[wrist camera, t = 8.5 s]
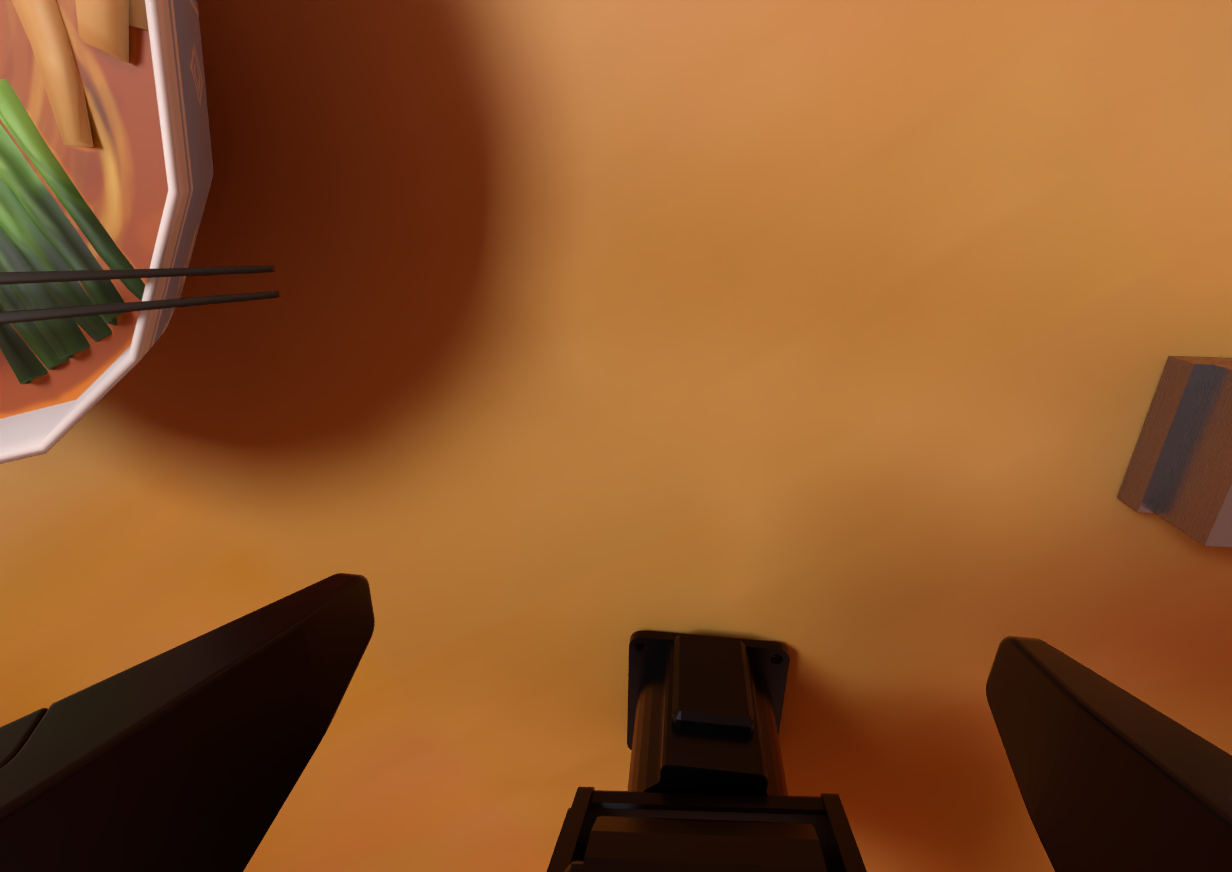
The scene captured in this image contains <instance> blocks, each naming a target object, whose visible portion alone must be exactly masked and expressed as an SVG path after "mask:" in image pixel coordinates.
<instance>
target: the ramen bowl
mask: <svg viewBox="0 0 1232 872" xmlns="http://www.w3.org/2000/svg"><path fill="white" fill-rule="evenodd" d="M213 175H214V170H213V160H212V149H211V139H210V128H209V118H208V107H207V96H206V86H205V75H204V65H203V54H202V44H201V33H200V23H199V12H198V3H197V1H196V0H0V464H1V463H6V462H10V461H14V460H19V459H23V458H27V457H32V456H36V455H40V454H44V453H47V452H48V451H49V450H50V449H51V448H52V447H53V446H54V445H55V444H56V443H57V442H58V441H59V440H60V439H61V438H62V437H63V436H64V435H65V434H66V433H67V432H68V431H69V430H70V429H71V428H72V427H73V426H74V425H75V424H76V423H77V422H78V421H79V420H80V419H81V418H82V417H83V416H84V415H85V414H86V413H87V412H88V411H89V410H90V409H92V408H93V407H94V406H95V405H96V404H97V403H98V402H99V401H100V400H101V399H102V398H103V397H104V396H105V395H106V394H107V393H108V392H109V391H110V390H111V389H112V388H113V387H114V386H115V385H116V384H117V383H118V382H119V381H120V380H121V379H122V378H123V377H124V376H125V375H126V374H127V373H128V372H129V371H130V370H131V369H132V368H133V367H134V366H135V365H136V364H137V363H138V362H139V361H140V360H141V359H142V358H143V357H144V355H145V354H146V353H147V352H148V351H149V350H150V348H151V347H152V346H153V345H154V344H155V343H156V341H157V340H158V339H159V338H160V337H161V335H162V334H163V333H164V332H165V331H166V329H167V327H168V325H169V322H170V320H171V318H172V316H173V313H174V311H175V309H176V307H186V306H196V305H206V304H217V303H227V302H237V301H248V300H258V299H268V298H277V297H280V295H279V291H275V292H261V293H248V294H234V295H221V296H207V297H194V298H180V297H181V294H182V290H183V286H184V283H185V279H186V276H199V275H220V274H242V273H264V272H275V271H274V267H273V266H240V267H198V268H189V264H190V260H191V257H192V253H193V249H194V245H195V242H196V238H197V234H198V231H199V227H200V223H201V219H202V216H203V212H204V208H205V204H206V201H207V197H208V193H209V190H210V186H211V182H212V178H213Z"/></svg>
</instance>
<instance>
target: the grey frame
mask: <svg viewBox="0 0 1232 872" xmlns="http://www.w3.org/2000/svg"><path fill="white" fill-rule="evenodd" d="M1117 498H1118V499H1119V500H1121V501H1122V502H1124V503H1125V504H1127V505H1128V506H1130V507H1131V508H1133V509H1134V510H1136V511H1137V512H1147V513H1155V514H1157V515H1158V516H1160V517H1161V518H1163V519H1164V520H1166V521H1167V522H1169V523H1170V524H1172V525H1174V526H1175V527H1177V528H1178V529H1180V530H1181V531H1183V532H1184V533H1186V534H1187V535H1189V536H1190V537H1192V538H1193V539H1195V540H1197V541H1198V542H1200V543H1201V544H1203V545H1204V546H1217V547H1232V358H1214V357H1183V356H1169V357H1168V360H1167V362H1166V365H1165V368H1164V370H1163V373H1162V376H1161V379H1160V381H1159V384H1158V387H1157V390H1156V392H1155V395H1154V398H1153V401H1152V403H1151V406H1150V409H1149V412H1148V414H1147V417H1146V420H1145V422H1144V425H1143V428H1142V431H1141V433H1140V436H1139V439H1138V442H1137V444H1136V447H1135V450H1134V453H1133V455H1132V458H1131V461H1130V464H1129V466H1128V469H1127V472H1126V474H1125V477H1124V480H1123V483H1122V485H1121V488H1120V491H1119V494H1118V496H1117Z"/></svg>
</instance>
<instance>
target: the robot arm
mask: <svg viewBox="0 0 1232 872" xmlns="http://www.w3.org/2000/svg"><path fill="white" fill-rule="evenodd" d="M374 622H375V621H374V613H373V607H372V600H371V594H370V588H369V583H368V581H367V579H366V578H365V577H364V576H362V575H355V574H345V573H338V574H335V575H332V576H330V577H328V578H326V579H324V580H321V581H319V582H317V583H315V584H313V585H310V586H308V587H306V588H304V589H302V590H300V591H297V592H295V593H293V594H291V595H289V596H286V597H284V598H282V599H280V600H278V601H276V602H273V603H271V604H269V605H267V606H265V607H262V608H260V609H258V610H256V611H254V612H252V613H249V614H247V615H245V616H243V617H241V618H238V619H236V620H234V621H232V622H230V623H228V624H225V625H223V626H221V627H219V628H217V629H214V630H212V631H210V632H208V633H206V634H204V635H201V636H199V637H197V638H195V639H193V640H190V641H188V642H186V643H184V644H182V645H179V646H177V647H175V648H173V649H171V650H169V651H166V652H164V653H162V654H160V655H158V656H155V657H153V658H151V659H149V660H147V661H145V662H142V663H140V664H138V665H136V666H134V667H131V668H129V669H127V670H125V671H123V672H121V673H118V674H116V675H114V676H112V677H110V678H107V679H105V680H103V681H101V682H99V683H97V684H94V685H92V686H90V687H88V688H86V689H83V690H81V691H79V692H77V693H75V694H73V695H70V696H68V697H66V698H64V699H62V700H59V701H57V702H55V703H53V704H52V705H51V706H50V707H49V709H47V708H42V709H39V710H37V711H35V712H33V713H31V714H28V715H26V716H24V717H22V718H20V719H18V720H16V721H13V722H11V723H9V724H7V725H5V726H2V727H0V872H243V871H244V869H245V868H246V866H247V864H248V863H249V861H250V859H251V858H252V856H253V854H254V853H255V851H256V849H257V848H258V846H259V844H260V842H261V841H262V839H263V837H264V836H265V834H266V832H267V831H268V829H269V827H270V826H271V824H272V822H273V821H274V819H275V817H276V816H277V814H278V812H279V811H280V809H281V807H282V806H283V804H284V802H285V801H286V799H287V797H288V796H289V794H290V792H291V791H292V789H293V787H294V786H295V784H296V782H297V781H298V779H299V777H300V776H301V774H302V772H303V771H304V769H305V767H306V766H307V764H308V762H309V760H310V759H311V757H312V755H313V754H314V752H315V750H316V749H317V747H318V745H319V744H320V742H321V740H322V738H323V736H324V735H325V733H326V731H327V729H328V727H329V725H330V723H331V721H332V719H333V717H334V715H335V713H336V711H337V709H338V707H339V705H340V703H341V701H342V698H343V696H344V694H345V692H346V690H347V688H348V686H349V684H350V681H351V679H352V677H353V675H354V673H355V671H356V669H357V667H358V665H359V662H360V660H361V658H362V656H363V654H364V652H365V650H366V648H367V645H368V643H369V641H370V639H371V637H372V634H373V631H374ZM638 642H643V643H645V644H646V645H639V644H638ZM774 654H779V655H780V656H778V657H773V656H772V655H774ZM788 666H789V654H788V650H787V648H786V646H784V645H783V644H781V643H777V642H767V641H755V640H743V639H732V638H720V637H708V636H697V635H685V634H673V633H662V632H650V631H637V632H635V633H633V634H632V635H631V638H630V644H629V680H628V728H627V745H628V747H629V748H630V750H632V753H631V763H630V772H629V782H628V791H601V790H595V789H594V787H578V789H577V792H576V795H575V798H574V801H573V804H572V807H571V808H569V809H568V811H567V814H566V817H565V820H564V823H563V826H562V829H561V832H560V835H559V837H558V840H557V843H556V846H555V849H554V852H553V855H552V858H551V861H550V864H549V866H548V869H547V872H867V871H866V868H865V866H864V863H863V860H862V857H861V855H860V852H859V849H858V847H857V844H856V841H855V838H854V836H853V833H852V830H851V828H850V825H849V822H848V819H847V817H846V814H845V811H844V809H843V806H842V803H841V800H840V798H839V795H838V794H821V797H810V796H788V792H787V786H786V780H785V774H784V768H783V762H782V756H781V750H780V745H779V739H778V733H779V726H780V720H781V713H782V706H783V700H784V693H785V686H786V680H787V673H788ZM986 695H987V700H988V703H989V706H990V709H991V712H992V714H993V717H994V720H995V723H996V726H997V728H998V731H999V734H1000V737H1001V739H1002V742H1003V745H1004V748H1005V750H1006V753H1007V756H1008V759H1009V762H1010V764H1011V767H1012V770H1013V773H1014V775H1015V778H1016V781H1017V784H1018V786H1019V789H1020V792H1021V795H1022V797H1023V800H1024V803H1025V805H1026V808H1027V810H1028V813H1029V815H1030V818H1031V820H1032V822H1033V825H1034V827H1035V829H1036V831H1037V833H1038V836H1039V838H1040V840H1041V842H1042V844H1043V847H1044V849H1045V851H1046V853H1047V855H1048V857H1049V859H1050V861H1051V863H1052V866H1053V868H1054V870H1055V872H1232V756H1231V755H1230V754H1228V753H1226V752H1225V751H1223V750H1221V749H1220V748H1218V747H1216V746H1215V745H1213V744H1212V743H1210V742H1208V741H1207V740H1205V739H1203V738H1202V737H1200V736H1198V735H1197V734H1195V733H1193V732H1192V731H1190V730H1189V729H1187V728H1185V727H1184V726H1182V725H1180V724H1179V723H1177V722H1175V721H1174V720H1172V719H1171V718H1169V717H1167V716H1166V715H1164V714H1162V713H1161V712H1159V711H1157V710H1156V709H1154V708H1152V707H1151V706H1149V705H1148V704H1146V703H1144V702H1143V701H1141V700H1139V699H1138V698H1136V697H1134V696H1133V695H1131V694H1129V693H1128V692H1126V691H1125V690H1123V689H1121V688H1120V687H1118V686H1116V685H1115V684H1113V683H1111V682H1110V681H1108V680H1106V679H1105V678H1103V677H1102V676H1100V675H1098V674H1097V673H1095V672H1093V671H1092V670H1090V669H1088V668H1087V667H1085V666H1084V665H1082V664H1080V663H1079V662H1077V661H1075V660H1074V659H1072V658H1070V657H1069V656H1067V655H1065V654H1064V653H1062V652H1061V651H1059V650H1057V649H1056V648H1054V647H1052V646H1051V645H1049V644H1047V643H1046V642H1044V641H1042V640H1039V639H1035V638H1025V637H1014V636H1009V637H1006V638H1004V639H1003V640H1002V641H1001V643H1000V645H999V647H998V650H997V653H996V656H995V659H994V662H993V665H992V668H991V671H990V674H989V677H988V680H987V685H986Z"/></svg>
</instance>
